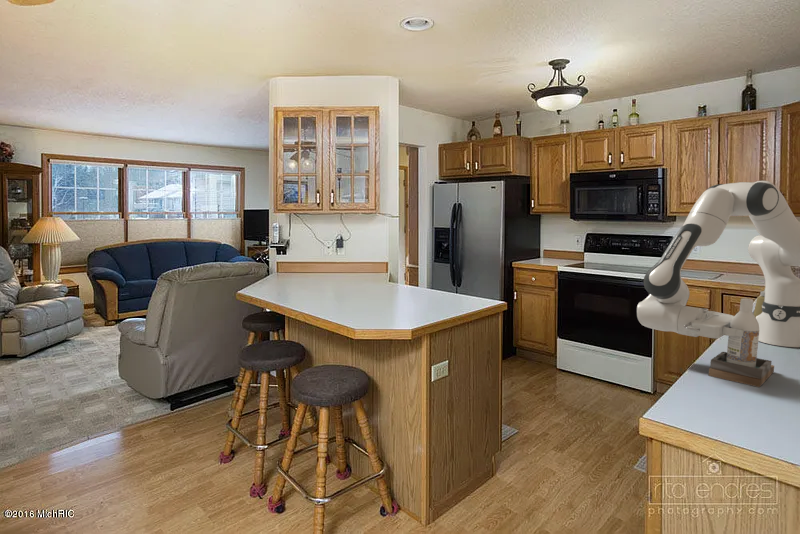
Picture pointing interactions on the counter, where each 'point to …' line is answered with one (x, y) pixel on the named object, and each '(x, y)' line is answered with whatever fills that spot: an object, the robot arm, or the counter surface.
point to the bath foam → (744, 336)
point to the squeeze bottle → (759, 304)
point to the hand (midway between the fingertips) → (747, 330)
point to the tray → (741, 370)
